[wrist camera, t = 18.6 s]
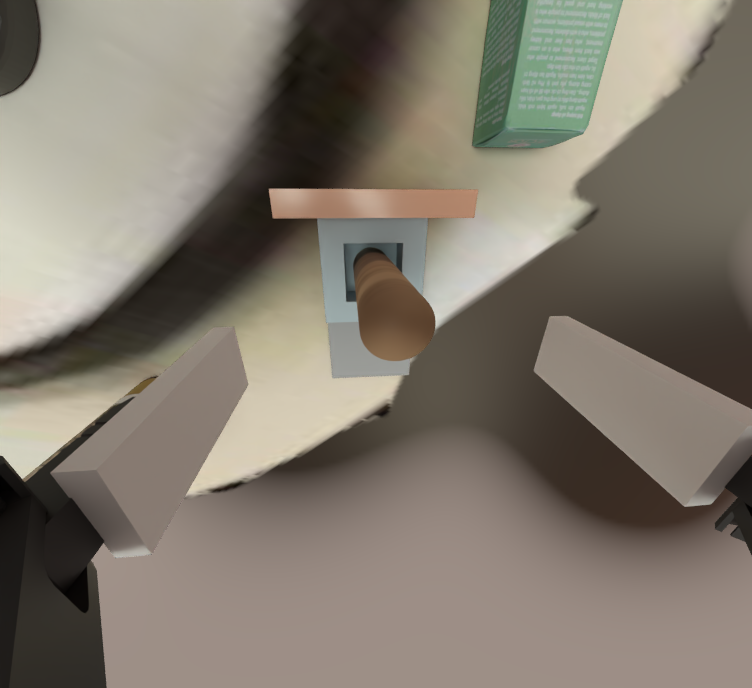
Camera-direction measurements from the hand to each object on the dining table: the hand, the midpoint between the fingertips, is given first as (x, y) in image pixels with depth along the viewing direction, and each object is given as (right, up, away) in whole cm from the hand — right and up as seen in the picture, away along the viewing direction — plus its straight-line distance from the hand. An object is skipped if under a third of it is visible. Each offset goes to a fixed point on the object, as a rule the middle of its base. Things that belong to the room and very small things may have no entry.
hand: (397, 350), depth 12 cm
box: (+13, +27, +15) cm, 33 cm away
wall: (-2, +16, +19) cm, 24 cm away
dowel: (-1, +9, +19) cm, 21 cm away
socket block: (-2, +10, +21) cm, 24 cm away
